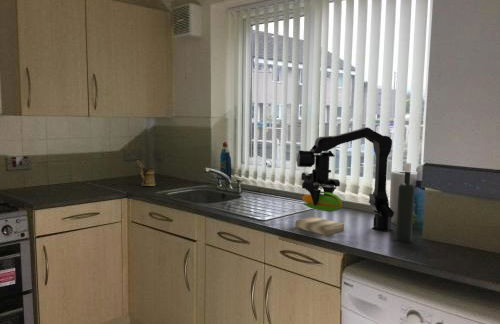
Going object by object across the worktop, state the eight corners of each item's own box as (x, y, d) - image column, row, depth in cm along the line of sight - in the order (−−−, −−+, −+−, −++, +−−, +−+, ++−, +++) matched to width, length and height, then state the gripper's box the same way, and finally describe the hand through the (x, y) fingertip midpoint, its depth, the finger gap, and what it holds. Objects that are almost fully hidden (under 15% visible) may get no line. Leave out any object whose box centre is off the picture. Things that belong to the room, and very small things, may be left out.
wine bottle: (412, 242, 167) (417, 164, 164) (396, 241, 168) (401, 163, 165) (409, 238, 172) (414, 162, 170) (394, 237, 173) (399, 162, 171)
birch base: (343, 230, 182) (344, 223, 182) (326, 235, 174) (326, 228, 174) (313, 223, 194) (313, 216, 193) (295, 227, 185) (295, 220, 185)
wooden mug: (132, 186, 282) (133, 158, 280) (149, 184, 292) (150, 157, 291) (141, 188, 276) (141, 159, 275) (158, 186, 287) (158, 158, 285)
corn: (336, 195, 173) (297, 188, 187) (335, 214, 173) (295, 206, 187) (346, 194, 178) (307, 188, 192) (345, 213, 179) (306, 205, 193)
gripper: (320, 164, 194) (318, 199, 195) (292, 166, 181) (291, 204, 182) (341, 166, 186) (339, 203, 187) (313, 169, 173) (312, 208, 174)
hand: (320, 204), depth 183 cm, fingers closed on corn, 7 cm apart
